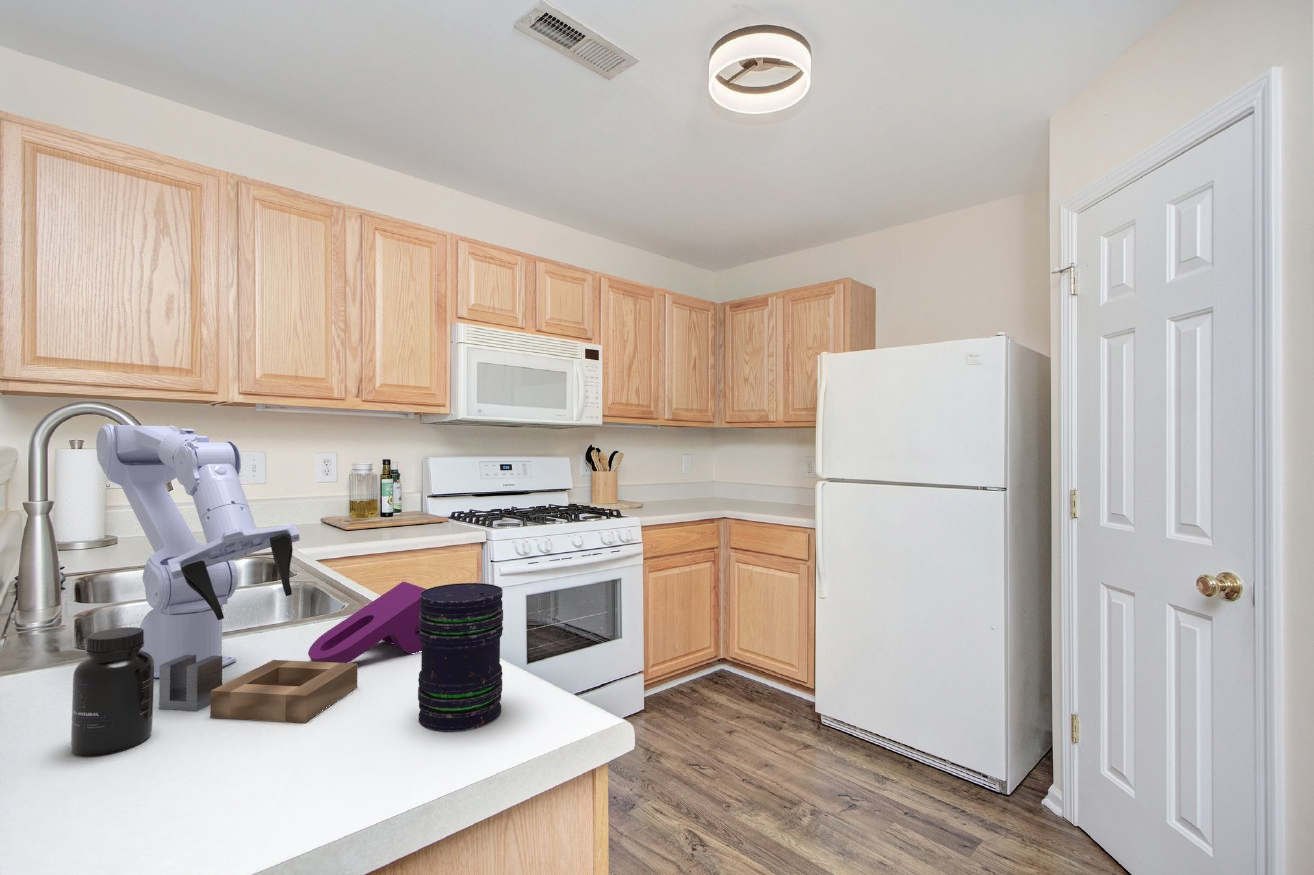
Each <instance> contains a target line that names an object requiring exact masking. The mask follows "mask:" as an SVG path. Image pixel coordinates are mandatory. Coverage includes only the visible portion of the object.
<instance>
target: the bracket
mask: <svg viewBox="0 0 1314 875" xmlns="http://www.w3.org/2000/svg"><path fill="white" fill-rule="evenodd" d="M222 657H223V655H222V656H210V657H208V658H205V659H203V660H201V661H198V662H196V655H187V654H186V655H184V656H181V657H179V658H176V659H174V660H171V661H169V662H166V663H164V664H161V665H160V674H159V679H158V680H159V682H158V684H159V685H158V686H159V688H158V692H159V693H158V701H159V702H158V710H161V711H175V712H176V711H179V712H196V713H197V712H199V711H201V710H203V709H205V708H206V707H208V706H209V707H210V700H211V690H213V689H215V688H217V687H219V686H221V685H223V667H222Z"/></svg>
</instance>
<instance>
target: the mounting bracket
mask: <svg viewBox="0 0 1314 875" xmlns="http://www.w3.org/2000/svg"><path fill="white" fill-rule="evenodd" d="M426 589H427V588H424V587H422V586H419V585H415V584H414V583H413V584H412V583H409V582H407V581H402V582H400V583H399V584H397V585H396V586H393V587H392V588H390V590H388V591H386V592H385V593H383V594H382V595H381V596H379V597H377V598H376V599H374V600H373V601H371V602H369V603H368V604H367V605H365V606H364V607H362V608H360V609H359V610H358V611H356V612H354V613H353V614H351V615H350V616H348V617H346V618H345V619H344V620H342V621H340V622H339V623H338V624H336V625H335V626H334V627H333V626H332V627H331V628H330V629H328V630H327V631H326V632H324V633H323V634H321V635H320V636H319V637H318V638H316V640H314V642H313V643H312V644H311V645H310V647H309V649H308V651H307V652H308V653H307V654H308V657H309V659H310V660H311V662H333V663H351V661H355V659H357V658H358V657H359V656H361V655H363V654H364V653H365V652H367V651H368V650H370V649H371V648H372V647H374V646H375V645H377V644H378V643H379V642H382V641H383V642H384V643H386V644H389V645H391V644H390V643H394V644H393V645H395V647H396V648H398V649H399V650H401V651H403V652H406V653H407V654H411V653H416V652H419V651H422V643H421V642H420V637H419V632H420V626H419V615H420V606H421V602H420V594H421V592H422V591H424V590H426ZM411 655H412V654H411Z"/></svg>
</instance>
